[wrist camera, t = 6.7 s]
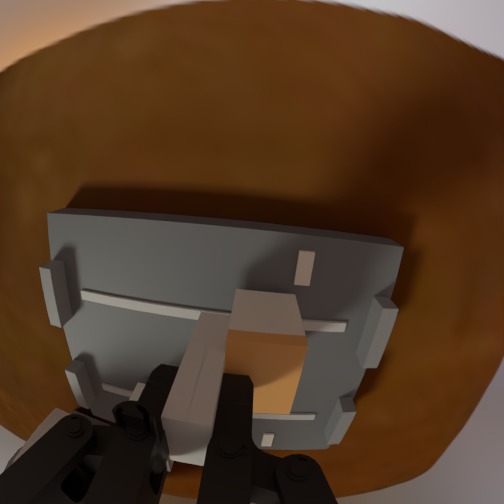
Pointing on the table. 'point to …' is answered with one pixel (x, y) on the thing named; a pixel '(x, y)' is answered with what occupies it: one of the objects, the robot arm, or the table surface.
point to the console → (216, 305)
